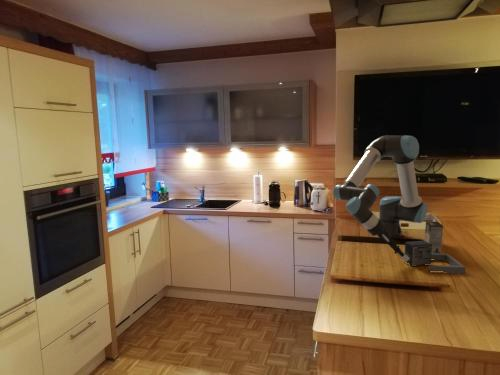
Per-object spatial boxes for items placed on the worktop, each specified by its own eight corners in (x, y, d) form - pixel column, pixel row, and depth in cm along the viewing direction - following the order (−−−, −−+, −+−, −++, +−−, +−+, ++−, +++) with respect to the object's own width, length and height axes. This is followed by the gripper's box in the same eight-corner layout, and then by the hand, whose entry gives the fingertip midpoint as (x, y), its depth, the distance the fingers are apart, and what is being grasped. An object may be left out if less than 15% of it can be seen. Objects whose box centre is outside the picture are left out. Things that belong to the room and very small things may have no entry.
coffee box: (423, 250, 201) (425, 220, 198) (436, 251, 199) (438, 221, 197) (427, 256, 192) (430, 225, 189) (441, 256, 191) (443, 226, 188)
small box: (422, 260, 185) (424, 240, 183) (431, 265, 179) (433, 244, 177) (403, 262, 183) (404, 241, 182) (411, 266, 177) (412, 245, 175)
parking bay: (416, 258, 188) (416, 253, 187) (447, 259, 186) (448, 253, 186) (430, 272, 170) (430, 266, 169) (465, 273, 169) (465, 267, 168)
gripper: (364, 226, 184) (397, 260, 185) (369, 233, 171) (405, 270, 172) (375, 216, 183) (409, 250, 184) (382, 222, 170) (418, 259, 171)
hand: (407, 259), depth 178 cm, fingers closed
